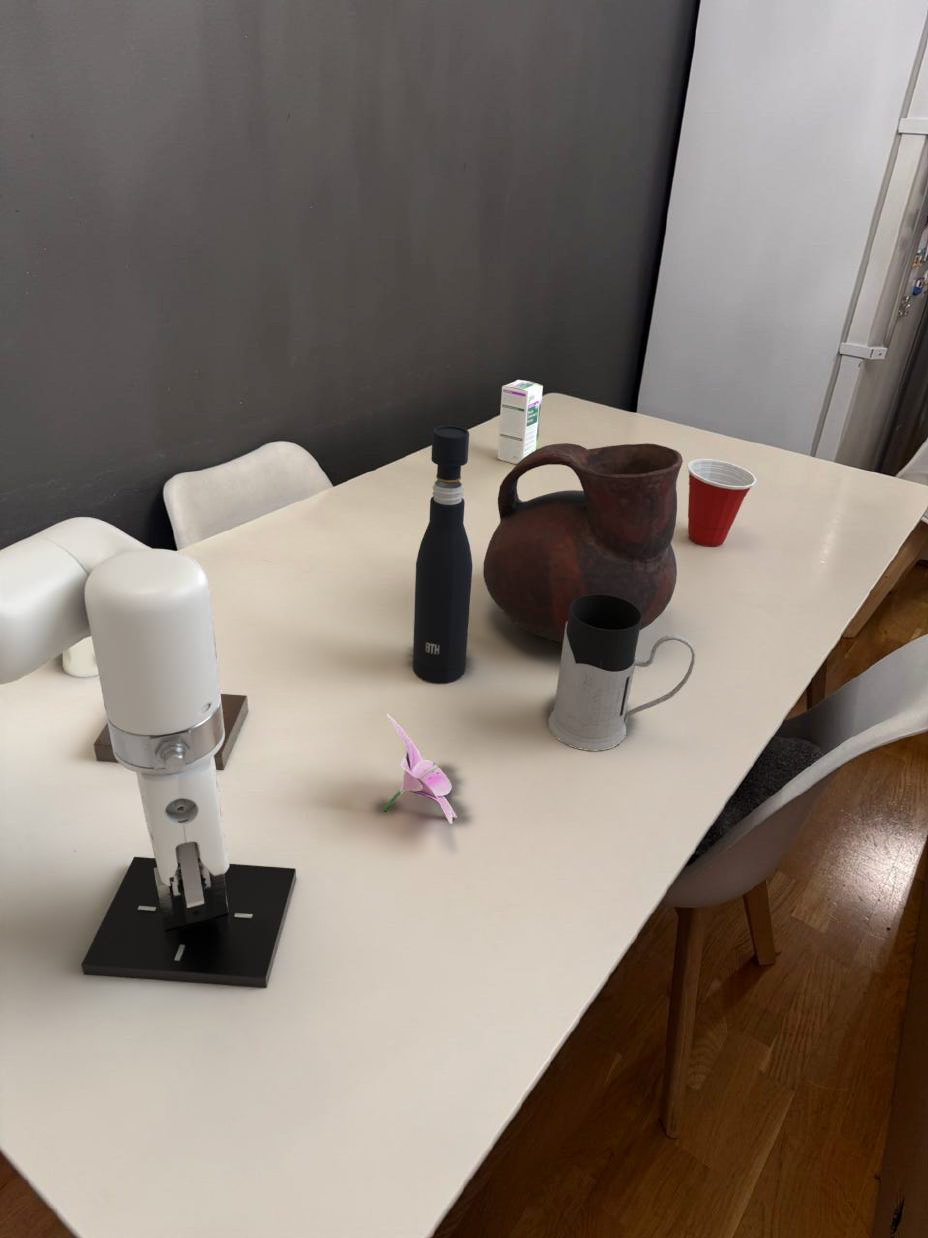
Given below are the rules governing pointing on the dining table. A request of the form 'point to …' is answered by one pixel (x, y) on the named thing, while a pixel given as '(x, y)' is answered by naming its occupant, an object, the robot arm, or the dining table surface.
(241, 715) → the switch block
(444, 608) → the black insulated flask
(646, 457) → the jug
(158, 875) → the hob knob
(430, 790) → the lily
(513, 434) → the syrup box
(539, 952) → the dining table surface
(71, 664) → the beer glass
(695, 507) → the plastic cup
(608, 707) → the glass holder
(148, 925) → the panel
